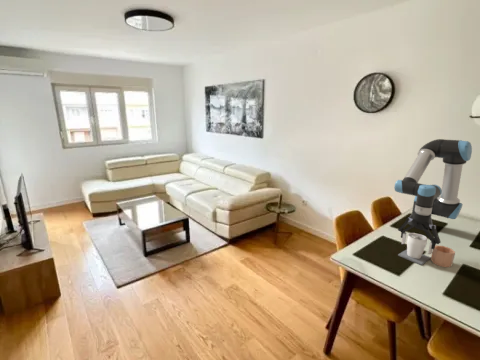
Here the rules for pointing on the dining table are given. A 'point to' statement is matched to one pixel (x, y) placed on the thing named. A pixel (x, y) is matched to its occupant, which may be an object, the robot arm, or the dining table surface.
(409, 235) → the cup
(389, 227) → the dining table surface
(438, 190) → the robot arm
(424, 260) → the mat
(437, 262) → the pot
